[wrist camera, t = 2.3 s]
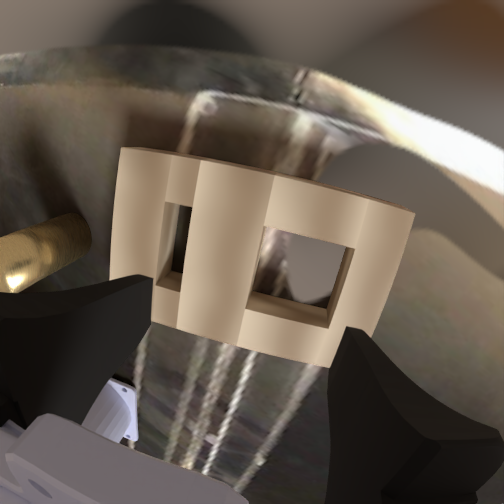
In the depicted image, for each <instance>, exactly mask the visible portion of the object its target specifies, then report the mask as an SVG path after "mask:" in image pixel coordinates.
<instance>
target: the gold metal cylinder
mask: <svg viewBox="0 0 504 504" xmlns="http://www.w3.org/2000/svg"><path fill="white" fill-rule="evenodd" d="M91 241H92V240H91V232H90V228H89V226H88V224H87V222H86V221H85V220H84V218H82V217H81V216H80V215H78V214H76V213H68V214H65V215H62V216H59V217H56V218H53V219H50V220H47V221H44V222H41V223H38V224H35V225H33V226H30V227H27V228H24V229H22V230H19V231H16V232H14V233H11V234H8V235H6V236H3V237H0V292H7V293H19V292H20V291H22V290H24V289H26V288H27V287H29V286H31V285H32V284H34V283H36V282H38V281H39V280H41V279H43V278H45V277H46V276H48V275H50V274H52V273H54V272H55V271H57V270H59V269H61V268H63V267H64V266H66V265H68V264H70V263H72V262H74V261H75V260H77V259H79V258H81V257H83V256H85V255H86V254H87V253H88V251H89V249H90V247H91Z"/></svg>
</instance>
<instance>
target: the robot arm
mask: <svg viewBox="0 0 504 504" xmlns="http://www.w3.org/2000/svg"><path fill="white" fill-rule="evenodd" d="M153 279H154V278H151V277H148V276H144V275H141V274H135V275H130V276H125V277H121V278H117V279H113V280H110V281H106V282H102V283H98V284H94V285H89V286H85V287H80V288H76V289H70V290H64V291H56V292H46V293H7V292H0V504H249V503H248V501H247V500H246V499H245V498H244V497H243V496H242V495H240V494H239V493H238V492H236V491H235V490H234V489H232V488H231V487H230V486H229V485H227V484H226V483H223V482H221V481H218V480H216V479H213V478H211V477H208V476H206V475H203V474H201V473H199V472H196V471H192V470H189V469H186V468H183V467H180V466H177V465H174V464H171V463H168V462H165V461H162V460H159V459H157V458H154V457H151V456H149V455H146V454H143V453H141V452H138V451H136V450H133V449H131V448H129V447H126V446H124V445H121V444H119V442H120V440H121V439H122V437H125V438H128V439H130V440H132V441H137V440H138V422H137V397H136V390H135V388H134V387H132V386H130V385H128V384H125V383H123V382H120V381H118V380H116V379H113V378H111V377H112V376H113V375H114V373H115V372H116V371H117V370H118V369H119V367H120V366H121V365H122V364H123V363H124V361H125V360H126V359H127V358H128V357H129V355H130V354H131V353H132V352H133V351H134V349H135V348H136V347H137V346H138V344H139V343H140V342H141V340H142V338H143V337H144V335H145V333H146V332H147V330H148V328H149V327H150V325H151V310H152V294H153ZM327 395H328V410H329V423H330V439H331V453H330V465H329V476H328V484H327V492H326V498H325V504H476V503H477V501H478V498H477V495H476V491H477V490H478V489H479V488H480V487H481V486H482V485H484V484H485V483H486V482H487V481H488V480H489V479H490V478H491V477H492V476H493V475H494V474H495V472H496V471H497V470H498V469H499V468H500V467H501V465H502V463H503V461H504V441H503V439H502V437H501V435H500V433H499V431H498V430H497V429H495V428H492V427H490V426H487V425H484V424H482V423H479V422H477V421H474V420H472V419H470V418H468V417H466V416H464V415H462V414H460V413H458V412H456V411H454V410H453V409H451V408H449V407H447V406H446V405H444V404H443V403H441V402H440V401H438V400H436V399H435V398H433V397H432V396H431V395H429V394H428V393H426V392H425V391H424V390H423V389H421V388H420V387H419V386H418V385H416V384H415V383H414V382H413V381H412V380H411V379H409V378H408V377H407V376H406V375H405V374H404V373H403V372H402V371H401V370H400V369H399V368H398V367H397V366H396V365H395V364H394V363H393V362H392V361H391V360H390V359H389V358H388V357H387V356H386V354H385V353H384V352H383V351H382V350H381V349H380V348H379V347H378V345H377V344H376V343H375V342H374V341H373V340H372V339H371V338H370V337H369V336H368V334H367V333H366V332H365V331H363V330H362V329H358V328H353V327H348V326H346V328H345V331H344V333H343V336H342V339H341V341H340V344H339V346H338V349H337V351H336V354H335V356H334V359H333V361H332V364H331V366H330V369H329V375H328V390H327Z"/></svg>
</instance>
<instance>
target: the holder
mask: <svg viewBox="0 0 504 504" xmlns="http://www.w3.org/2000/svg"><path fill="white" fill-rule="evenodd" d="M180 205H184V206H189V207H193V208H192V214H191V221H190V227H189V234H188V240H187V247H186V254H185V261H184V269H183V274H181V273H178V272H174V271H171V268H172V260H173V252H174V244H175V237H176V229H177V222H178V215H179V209H180ZM414 216H415V213H414V212H412V211H410V210H408V209H407V208H405V207H403V206H401V205H398V204H395V203H391V202H388V201H384V200H381V199H378V198H374V197H371V196H368V195H364V194H360V193H357V192H353V191H350V190H346V189H342V188H339V187H335V186H331V185H327V184H324V183H319V182H316V181H312V180H308V179H304V178H300V177H295V176H291V175H287V174H283V173H278V172H274V171H269V170H265V169H260V168H256V167H251V166H246V165H242V164H237V163H232V162H227V161H221V160H216V159H211V158H206V157H200V156H194V155H189V154H183V153H177V152H171V151H165V150H158V149H152V148H145V147H121V152H120V159H119V167H118V174H117V182H116V191H115V201H114V212H113V224H112V238H111V256H110V280H113V279H117V278H121V277H125V276H130V275H135V274H141V275H144V276H148V277H151V278H154V279H153V294H152V310H151V321H154V322H157V323H160V324H163V325H167V326H170V327H173V328H176V329H179V330H183V331H186V332H189V333H192V334H196V335H199V336H203V337H206V338H209V339H213V340H216V341H220V342H224V343H227V344H231V345H235V346H238V347H242V348H246V349H250V350H254V351H258V352H262V353H266V354H270V355H274V356H278V357H282V358H287V359H291V360H295V361H300V362H304V363H309V364H314V365H318V366H323V367H328V368H330V366H331V364H332V361H333V359H334V356H335V354H336V351H337V349H338V346H339V344H340V341H341V339H342V336H343V333H344V331H345V328H346V326H348V327H353V328H358V329H362V330H363V331H365V332H366V333H367V334H368V336H369V337H370V338H371V336H372V334H373V332H374V329H375V327H376V325H377V322H378V320H379V317H380V315H381V312H382V310H383V307H384V305H385V302H386V300H387V297H388V294H389V292H390V289H391V286H392V284H393V281H394V278H395V275H396V272H397V270H398V267H399V264H400V261H401V258H402V255H403V252H404V249H405V246H406V243H407V240H408V236H409V233H410V230H411V227H412V223H413V220H414ZM266 227H271V228H275V229H279V230H283V231H287V232H291V233H295V234H299V235H303V236H307V237H311V238H315V239H319V240H323V241H327V242H331V243H335V244H339V245H343V246H346V249H345V252H344V255H343V259H342V262H341V265H340V269H339V272H338V275H337V278H336V281H335V284H334V287H333V291H332V294H331V297H330V300H329V303H328V306H327V309H324V308H320V307H316V306H312V305H307V304H303V303H299V302H295V301H291V300H287V299H283V298H279V297H275V296H271V295H267V294H263V293H259V292H255V291H252V289H253V284H254V280H255V276H256V271H257V267H258V262H259V258H260V254H261V249H262V245H263V240H264V236H265V231H266Z"/></svg>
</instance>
